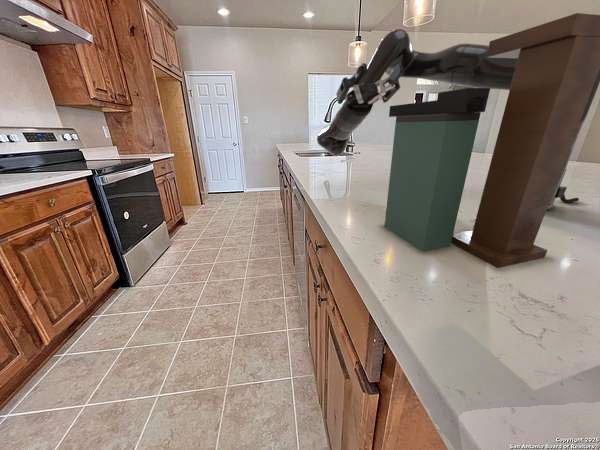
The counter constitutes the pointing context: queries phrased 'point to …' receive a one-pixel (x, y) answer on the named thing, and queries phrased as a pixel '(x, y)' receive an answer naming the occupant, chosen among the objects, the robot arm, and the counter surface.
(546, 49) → the shelf stand
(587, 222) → the counter surface
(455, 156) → the dark green tall block
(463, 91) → the pad strip
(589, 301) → the counter surface
